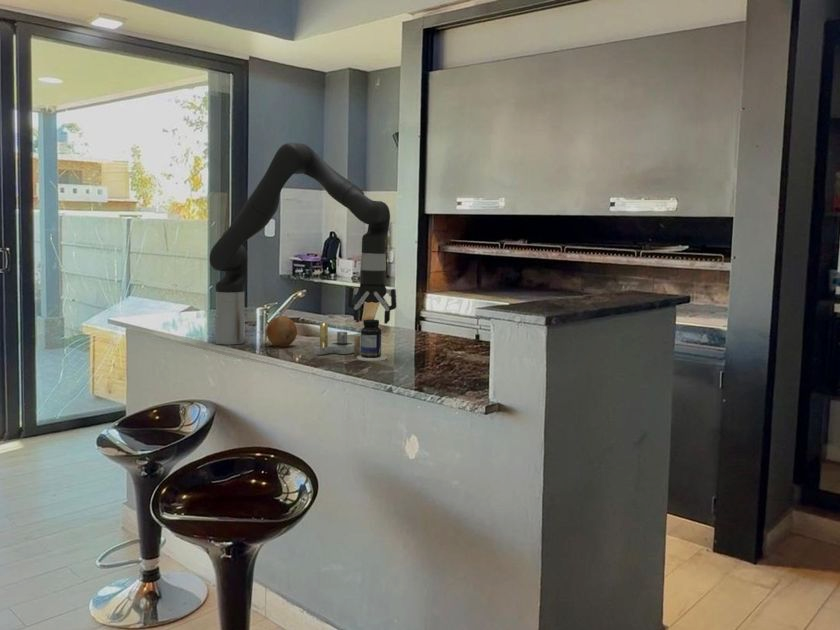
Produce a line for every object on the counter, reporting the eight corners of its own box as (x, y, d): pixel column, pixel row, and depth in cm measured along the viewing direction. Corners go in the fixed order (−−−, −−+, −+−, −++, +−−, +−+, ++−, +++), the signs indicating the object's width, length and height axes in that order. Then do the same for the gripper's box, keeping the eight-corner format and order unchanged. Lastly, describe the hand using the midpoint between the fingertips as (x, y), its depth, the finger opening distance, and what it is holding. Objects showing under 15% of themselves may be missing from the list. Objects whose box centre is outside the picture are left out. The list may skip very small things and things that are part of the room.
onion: (285, 343, 258) (285, 313, 257) (303, 346, 251) (303, 316, 250) (260, 346, 251) (260, 315, 250) (278, 349, 244) (278, 318, 243)
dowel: (354, 356, 235) (354, 336, 234) (353, 355, 236) (354, 336, 236) (360, 356, 235) (360, 336, 234) (359, 355, 237) (359, 336, 236)
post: (337, 351, 243) (337, 332, 242) (336, 350, 246) (336, 331, 245) (347, 351, 243) (347, 332, 242) (346, 350, 246) (346, 331, 246)
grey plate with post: (340, 345, 253) (340, 317, 252) (368, 349, 246) (369, 320, 245) (302, 352, 239) (302, 322, 238) (331, 356, 232) (331, 326, 231)
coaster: (358, 361, 226) (358, 359, 226) (355, 356, 235) (355, 354, 235) (388, 361, 227) (388, 359, 227) (385, 356, 236) (385, 354, 236)
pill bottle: (370, 354, 235) (370, 318, 234) (385, 356, 231) (385, 320, 230) (356, 356, 231) (356, 320, 229) (371, 359, 227) (371, 322, 225)
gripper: (347, 268, 225) (346, 323, 227) (395, 270, 224) (393, 325, 226) (351, 267, 232) (350, 320, 234) (398, 268, 231) (397, 322, 233)
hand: (371, 322), depth 230 cm, fingers open, 8 cm apart
